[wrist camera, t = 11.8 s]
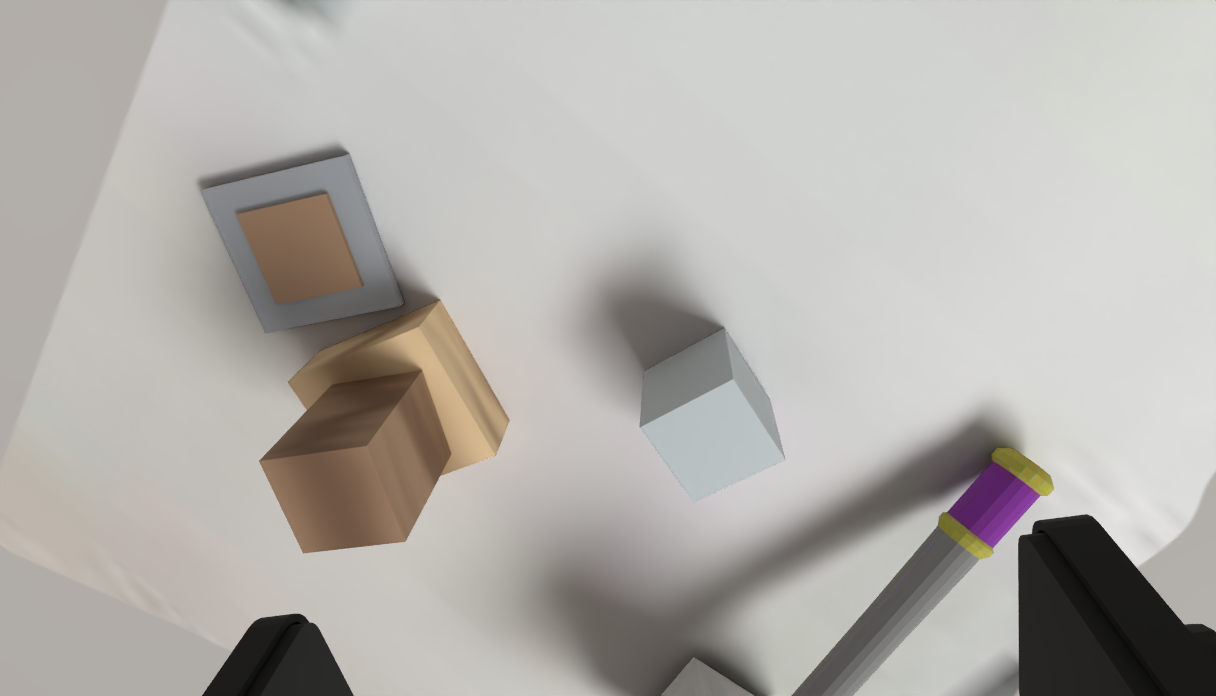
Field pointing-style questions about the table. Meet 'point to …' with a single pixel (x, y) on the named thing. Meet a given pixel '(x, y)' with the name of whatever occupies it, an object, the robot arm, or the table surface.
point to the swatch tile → (304, 244)
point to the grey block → (709, 417)
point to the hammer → (909, 582)
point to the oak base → (446, 367)
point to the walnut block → (359, 463)
